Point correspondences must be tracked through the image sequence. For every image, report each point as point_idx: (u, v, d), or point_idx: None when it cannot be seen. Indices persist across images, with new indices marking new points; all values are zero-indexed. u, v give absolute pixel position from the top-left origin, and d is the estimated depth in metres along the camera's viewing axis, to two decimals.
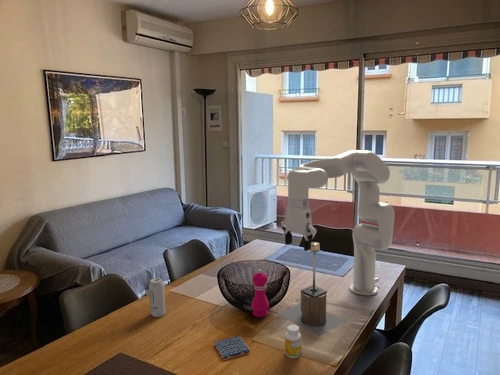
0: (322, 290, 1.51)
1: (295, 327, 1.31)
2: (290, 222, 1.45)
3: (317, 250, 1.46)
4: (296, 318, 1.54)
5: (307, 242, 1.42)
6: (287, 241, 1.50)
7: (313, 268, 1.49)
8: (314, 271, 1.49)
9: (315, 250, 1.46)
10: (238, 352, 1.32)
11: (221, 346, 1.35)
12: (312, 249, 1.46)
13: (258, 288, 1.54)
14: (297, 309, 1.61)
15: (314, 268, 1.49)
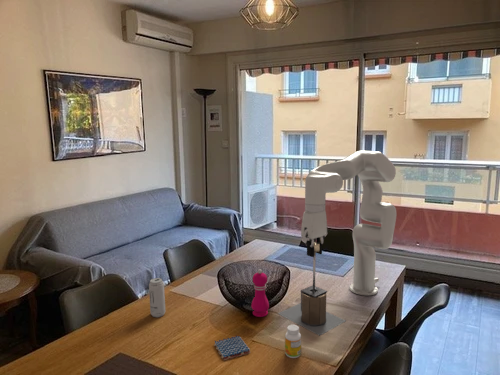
0: (322, 290, 1.51)
1: (295, 327, 1.31)
2: (316, 229, 1.43)
3: (317, 250, 1.46)
4: (296, 318, 1.54)
5: None
6: None
7: (313, 268, 1.49)
8: (314, 271, 1.49)
9: (315, 250, 1.46)
10: (238, 352, 1.32)
11: (221, 346, 1.35)
12: None
13: (258, 288, 1.54)
14: (297, 309, 1.61)
15: (314, 268, 1.49)
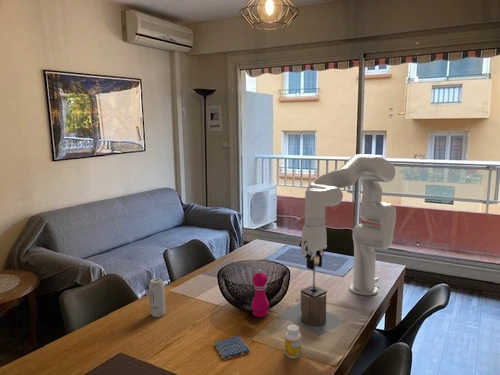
0: (322, 290, 1.51)
1: (295, 327, 1.31)
2: (316, 242, 1.44)
3: (317, 263, 1.47)
4: (296, 318, 1.54)
5: None
6: None
7: (313, 281, 1.50)
8: (314, 284, 1.50)
9: (315, 263, 1.47)
10: (238, 352, 1.32)
11: (221, 346, 1.35)
12: None
13: (258, 288, 1.54)
14: (297, 309, 1.61)
15: (314, 281, 1.49)
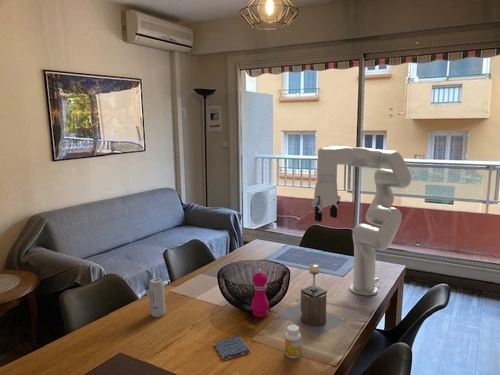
0: (322, 290, 1.51)
1: (295, 327, 1.31)
2: (328, 197, 1.55)
3: (317, 272, 1.48)
4: (296, 318, 1.54)
5: None
6: None
7: (313, 289, 1.50)
8: None
9: (315, 272, 1.47)
10: (238, 352, 1.32)
11: (221, 346, 1.35)
12: (312, 271, 1.48)
13: (258, 288, 1.54)
14: (297, 309, 1.61)
15: (314, 289, 1.50)
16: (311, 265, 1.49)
